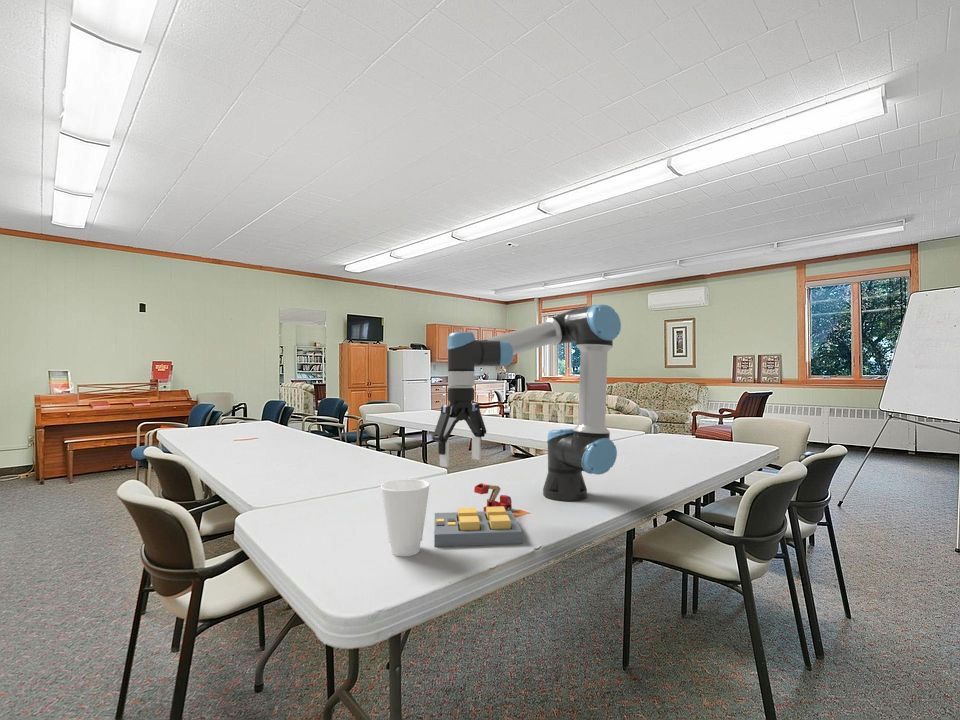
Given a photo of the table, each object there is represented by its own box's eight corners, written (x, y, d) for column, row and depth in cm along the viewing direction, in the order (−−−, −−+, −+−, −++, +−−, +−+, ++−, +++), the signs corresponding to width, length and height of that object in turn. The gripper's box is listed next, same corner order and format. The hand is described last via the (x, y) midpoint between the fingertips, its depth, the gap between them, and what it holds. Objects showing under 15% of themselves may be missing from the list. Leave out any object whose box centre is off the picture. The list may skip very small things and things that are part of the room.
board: (511, 521, 139) (511, 509, 139) (522, 543, 121) (522, 530, 121) (434, 523, 137) (434, 511, 137) (434, 546, 119) (434, 533, 119)
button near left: (507, 526, 128) (507, 514, 128) (510, 533, 123) (510, 520, 123) (489, 527, 128) (489, 515, 128) (491, 533, 123) (491, 521, 123)
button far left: (503, 517, 136) (503, 506, 136) (506, 523, 131) (506, 511, 131) (486, 518, 135) (486, 506, 136) (488, 523, 130) (488, 512, 131)
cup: (386, 564, 108) (386, 492, 109) (375, 546, 119) (375, 481, 120) (436, 555, 113) (436, 487, 113) (421, 539, 124) (421, 477, 124)
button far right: (475, 518, 135) (475, 507, 135) (477, 524, 130) (477, 512, 130) (457, 519, 135) (457, 507, 135) (458, 524, 130) (458, 513, 130)
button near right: (478, 527, 127) (478, 515, 127) (479, 534, 122) (479, 521, 122) (459, 528, 127) (459, 516, 127) (460, 535, 122) (460, 522, 122)
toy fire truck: (513, 509, 150) (512, 478, 150) (482, 519, 140) (481, 486, 140) (505, 507, 152) (505, 477, 152) (474, 517, 143) (473, 484, 143)
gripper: (478, 385, 147) (478, 455, 147) (419, 387, 128) (419, 467, 127) (498, 386, 142) (498, 458, 142) (439, 388, 123) (439, 471, 123)
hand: (460, 462), depth 135 cm, fingers open, 13 cm apart
